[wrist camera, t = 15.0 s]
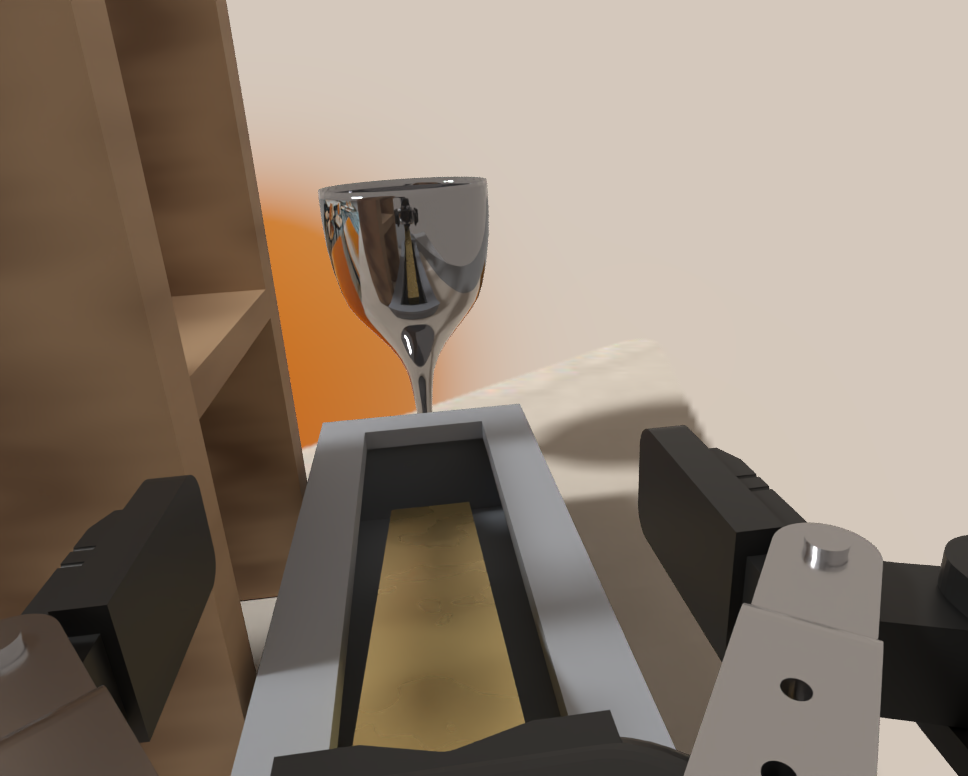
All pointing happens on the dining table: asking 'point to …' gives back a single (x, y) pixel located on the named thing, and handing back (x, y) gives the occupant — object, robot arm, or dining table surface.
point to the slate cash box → (509, 563)
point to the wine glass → (409, 261)
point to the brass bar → (435, 640)
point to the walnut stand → (141, 323)
